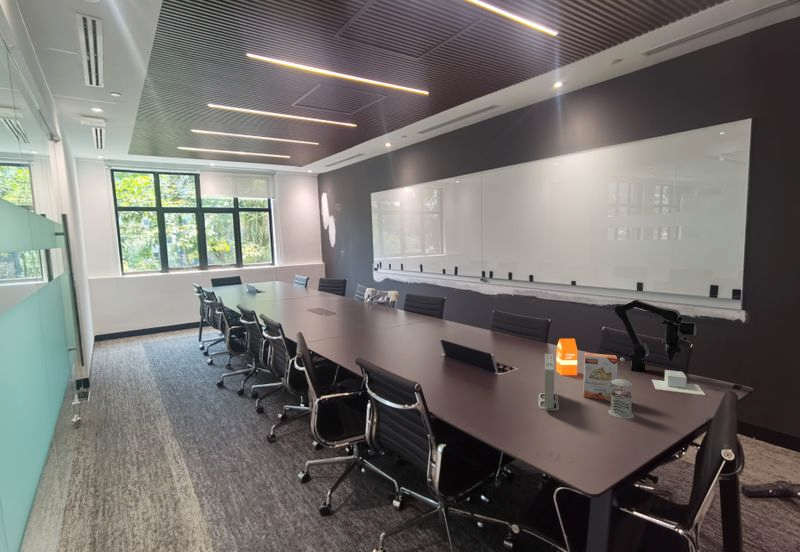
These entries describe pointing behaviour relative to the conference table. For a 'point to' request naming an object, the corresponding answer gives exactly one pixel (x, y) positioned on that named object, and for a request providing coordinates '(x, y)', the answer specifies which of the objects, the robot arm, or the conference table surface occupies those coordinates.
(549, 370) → the network device
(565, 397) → the conference table surface
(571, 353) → the orange juice
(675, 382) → the small box
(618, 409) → the french press
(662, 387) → the grey mat
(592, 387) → the cracker box
